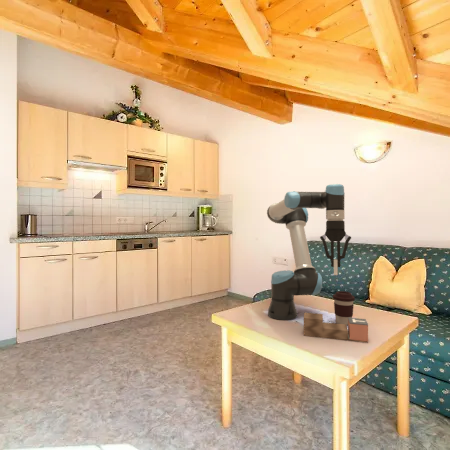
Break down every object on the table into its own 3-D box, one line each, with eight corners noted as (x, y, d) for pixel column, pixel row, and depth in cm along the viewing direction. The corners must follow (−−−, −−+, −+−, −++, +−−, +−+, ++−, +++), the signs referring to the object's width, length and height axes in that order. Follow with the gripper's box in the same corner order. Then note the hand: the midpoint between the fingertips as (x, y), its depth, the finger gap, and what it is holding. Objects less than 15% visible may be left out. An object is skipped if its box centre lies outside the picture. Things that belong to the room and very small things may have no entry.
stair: (303, 335, 129) (303, 317, 129) (304, 329, 136) (304, 312, 136) (367, 342, 121) (367, 323, 121) (364, 335, 129) (364, 317, 129)
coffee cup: (352, 320, 148) (352, 290, 148) (356, 327, 138) (356, 295, 138) (331, 319, 150) (331, 289, 150) (334, 325, 141) (334, 294, 140)
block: (368, 324, 121) (368, 341, 121) (365, 319, 128) (365, 335, 128) (349, 322, 123) (349, 339, 123) (348, 317, 130) (348, 333, 130)
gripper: (319, 220, 126) (319, 275, 126) (352, 219, 122) (352, 276, 122) (319, 220, 134) (320, 272, 133) (350, 220, 129) (351, 274, 129)
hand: (335, 274), depth 128 cm, fingers closed
